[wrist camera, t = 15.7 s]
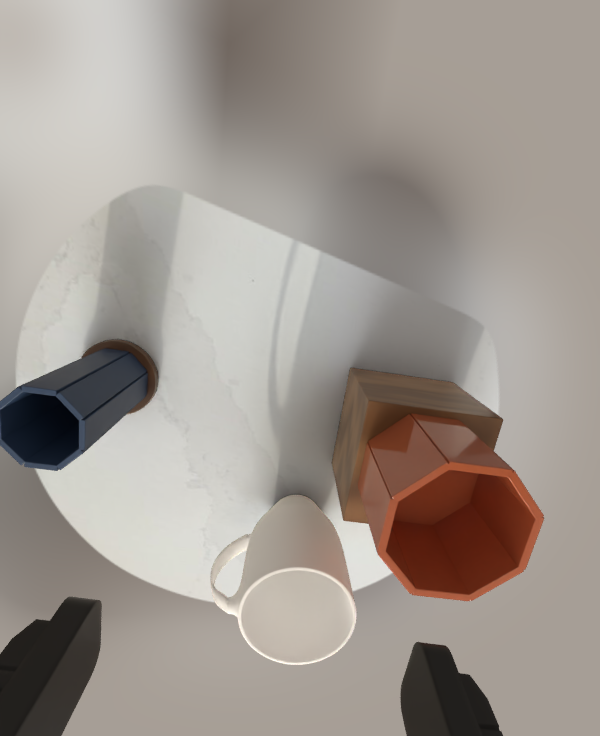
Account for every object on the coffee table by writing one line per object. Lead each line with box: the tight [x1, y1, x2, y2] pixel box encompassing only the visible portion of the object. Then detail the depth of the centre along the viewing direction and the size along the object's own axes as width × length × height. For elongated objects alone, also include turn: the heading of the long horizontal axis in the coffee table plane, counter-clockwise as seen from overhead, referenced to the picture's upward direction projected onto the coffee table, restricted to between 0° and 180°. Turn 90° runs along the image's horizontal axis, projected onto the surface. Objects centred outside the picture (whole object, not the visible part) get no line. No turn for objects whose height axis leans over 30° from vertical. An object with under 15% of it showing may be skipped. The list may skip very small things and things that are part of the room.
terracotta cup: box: [358, 413, 544, 601], centre depth 25 cm, size 9×9×7 cm
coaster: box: [82, 340, 158, 414], centre depth 35 cm, size 7×7×1 cm
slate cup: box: [0, 348, 148, 471], centre depth 30 cm, size 6×6×11 cm
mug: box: [211, 495, 356, 665], centre depth 34 cm, size 12×9×12 cm
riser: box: [332, 368, 503, 524], centre depth 33 cm, size 10×10×9 cm
